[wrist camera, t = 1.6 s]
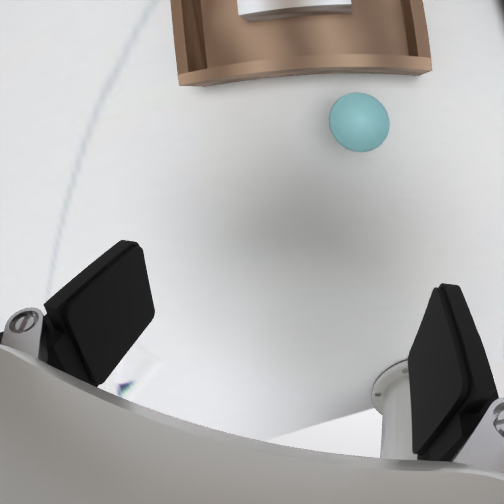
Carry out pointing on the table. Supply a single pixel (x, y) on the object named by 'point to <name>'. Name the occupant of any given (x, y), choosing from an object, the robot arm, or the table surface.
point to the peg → (359, 122)
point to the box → (297, 38)
